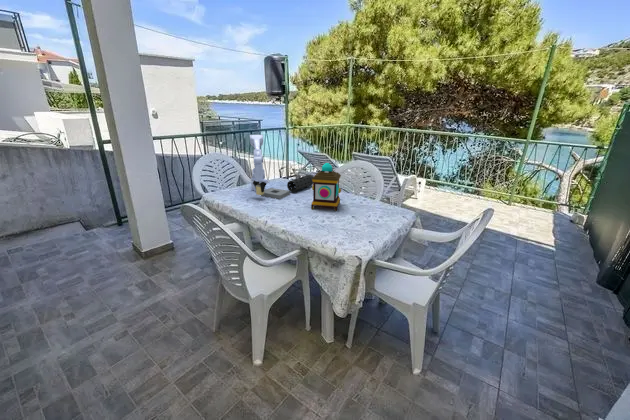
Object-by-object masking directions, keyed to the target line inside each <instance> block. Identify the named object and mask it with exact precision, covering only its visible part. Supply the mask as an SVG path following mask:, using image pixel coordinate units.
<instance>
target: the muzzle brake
mask: <svg viewBox="0 0 630 420" xmlns="http://www.w3.org/2000/svg"><path fill="white" fill-rule="evenodd" d="M314 176H315V175H312V174H305V175H303V176H301V177H298V178H296V179H295V178H294V179H292V180H289V181H288V182H287V184H286V187H287V189H288V191H290V193H291V194H292V193H296V192H298V191H300V190H301V191H302V189H307V188H308V187H310V186H313V181H312V178H313V177H314Z"/></svg>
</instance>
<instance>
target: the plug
mask: <svg viewBox="0 0 630 420" xmlns="http://www.w3.org/2000/svg"><path fill="white" fill-rule="evenodd" d="M255 194H256V195H258V196H260V195H263V194H264V192H261V186H260V184H258V185H256V191H255Z"/></svg>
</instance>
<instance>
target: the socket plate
mask: <svg viewBox="0 0 630 420" xmlns="http://www.w3.org/2000/svg"><path fill="white" fill-rule="evenodd" d="M290 195H291V191H289V190H287V189H280V188H274V187H269V188H266V190H264V194H263V195H261V196H260V197H264V196H265V197H264V198H269V197H271V198H270V199H275V198H276V199H275V200H282V199H284V198H286V197H288V196H290Z"/></svg>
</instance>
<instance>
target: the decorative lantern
mask: <svg viewBox="0 0 630 420" xmlns="http://www.w3.org/2000/svg"><path fill="white" fill-rule="evenodd" d="M313 176H314V177H313V178H312V181H313V185H311V186H312V187H311V189H312V192H313V193H312V194H313V195H312V196H313V197H312V202H311V205H310V208H311V210H314V209H315V208H314V207H325V208H327V207H328V208H334V211H335V212H337V211H338V206H339V204H340V203H341V198H340V195H339V194H341V192H342V188H341V187H340V179H341V176H342V174H341V173H339V172H336V171H335V170H334V169H333V166H332V165H331V164H330V163H329V162H325V163H324V164H323V165H322V166H321V170H319V171H318V172H316V174H314V175H313Z"/></svg>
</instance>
